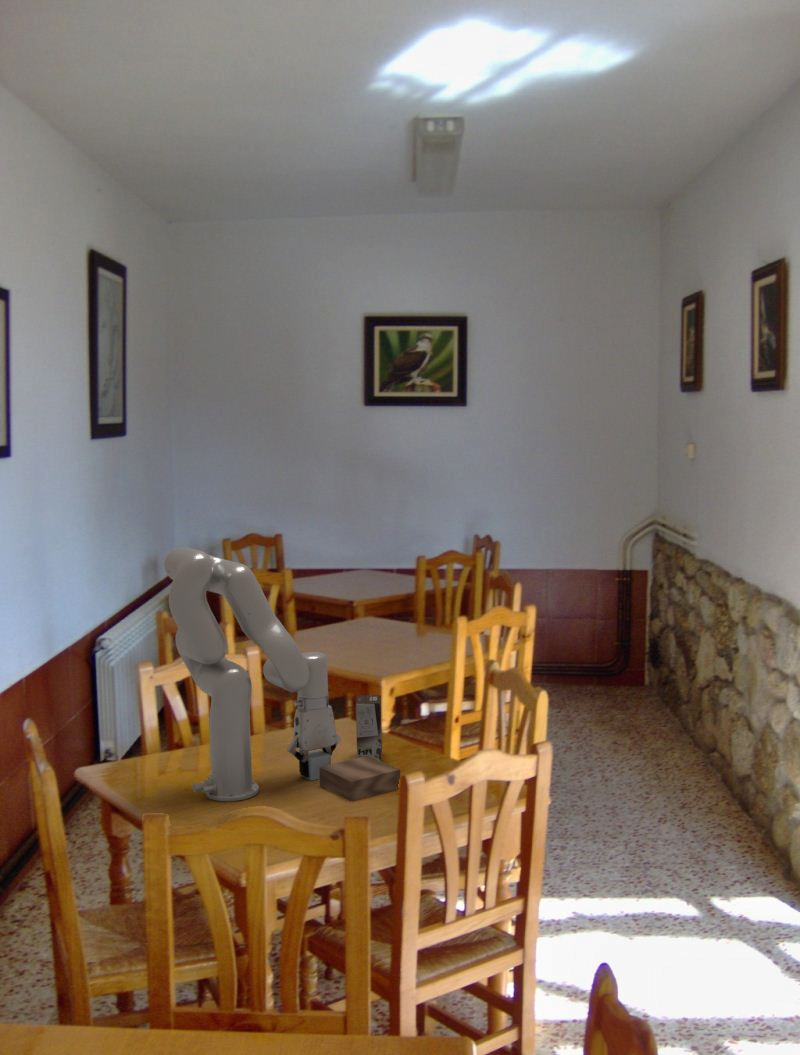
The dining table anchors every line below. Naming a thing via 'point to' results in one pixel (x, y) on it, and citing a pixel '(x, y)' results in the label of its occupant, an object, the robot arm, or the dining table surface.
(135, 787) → the dining table surface
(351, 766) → the walnut block
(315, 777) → the grey blue cube
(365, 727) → the coffee box
